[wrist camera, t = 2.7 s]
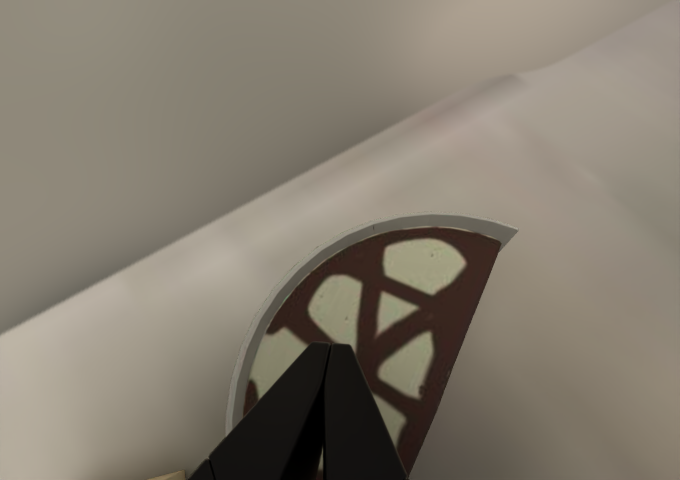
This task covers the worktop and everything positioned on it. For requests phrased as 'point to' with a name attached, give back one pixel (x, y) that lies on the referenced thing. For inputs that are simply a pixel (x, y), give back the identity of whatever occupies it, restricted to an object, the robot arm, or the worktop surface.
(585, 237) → the worktop surface
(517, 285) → the worktop surface
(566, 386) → the worktop surface
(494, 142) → the worktop surface
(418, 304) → the food container
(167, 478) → the number block
